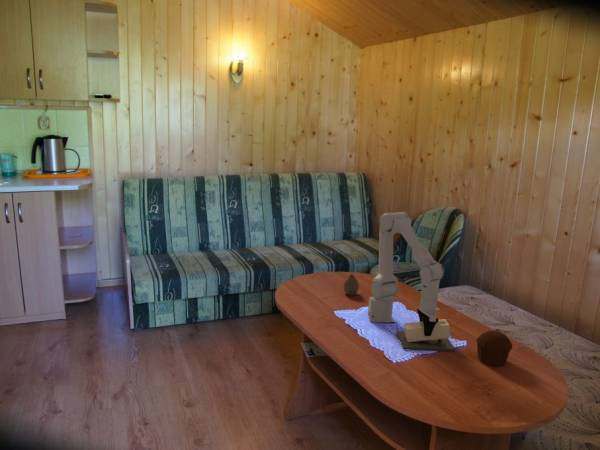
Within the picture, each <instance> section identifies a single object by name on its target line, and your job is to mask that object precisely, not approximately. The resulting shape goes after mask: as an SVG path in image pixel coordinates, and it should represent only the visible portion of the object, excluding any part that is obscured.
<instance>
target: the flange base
mask: <svg viewBox="0 0 600 450" xmlns="http://www.w3.org/2000/svg"><path fill="white" fill-rule="evenodd" d="M396 333H397V334H396V336H397V338H399V339H398V341H399V340H400V341H399V343H400V342H401V343H400V345H401V348H402V347H403V348H402V350H403V349H409V350H408V351H426V352H427V351H429V352H431V351H432V352H454V353H455V352H456V348H455V346H454V345H453V344H452V342H451V340H450V338H443V339H434V340H424V341H414V342H408V341H407V339H406V337H405V330H404V331H403V330H397V331H396Z"/></svg>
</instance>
